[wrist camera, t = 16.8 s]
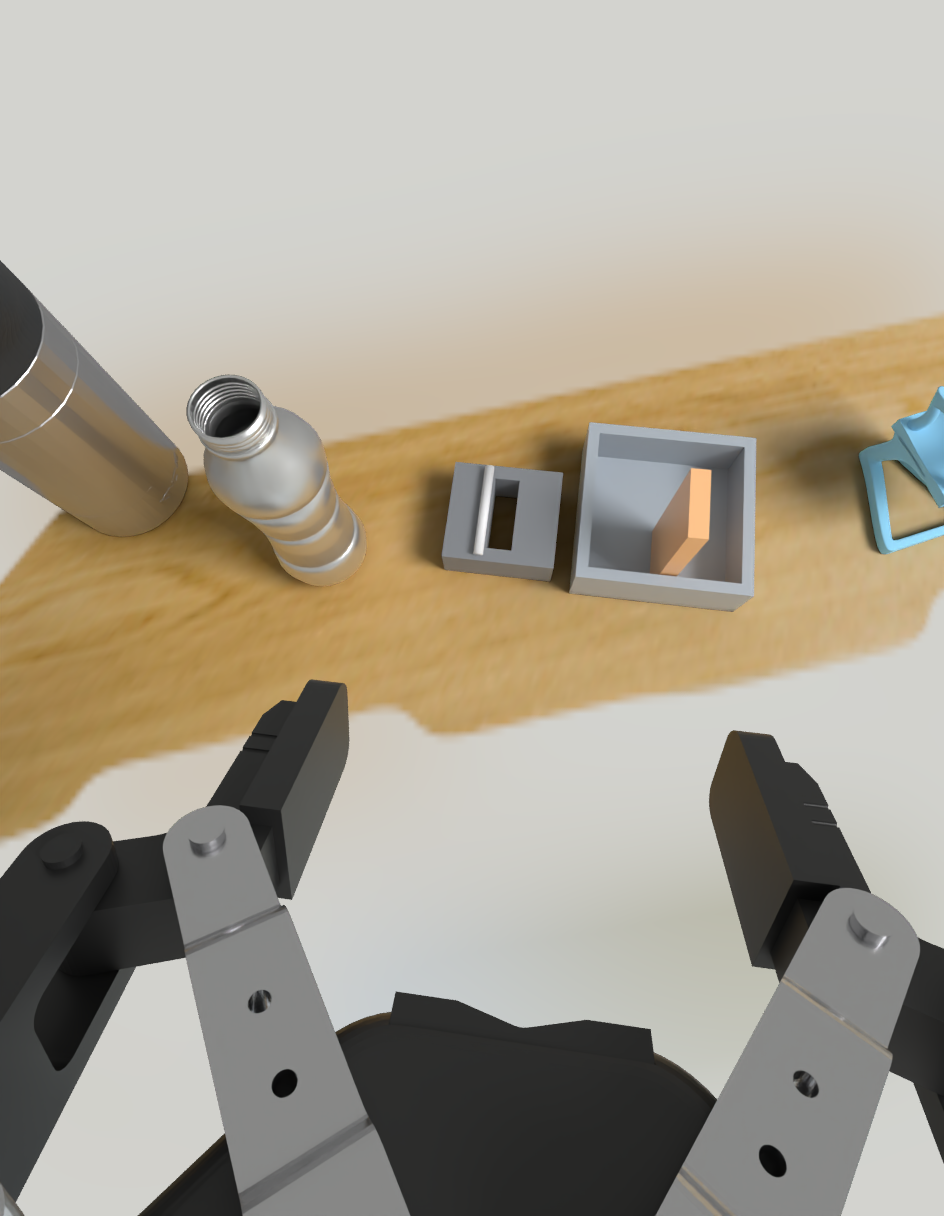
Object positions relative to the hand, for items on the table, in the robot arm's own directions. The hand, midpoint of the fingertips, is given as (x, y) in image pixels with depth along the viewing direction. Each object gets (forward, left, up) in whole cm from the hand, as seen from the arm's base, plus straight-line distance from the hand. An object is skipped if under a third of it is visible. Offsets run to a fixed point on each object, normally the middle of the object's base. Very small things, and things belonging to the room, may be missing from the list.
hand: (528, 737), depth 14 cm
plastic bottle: (-15, +14, -33) cm, 39 cm away
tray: (+9, +19, -32) cm, 39 cm away
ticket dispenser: (-2, +18, -32) cm, 37 cm away
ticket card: (+10, +17, -32) cm, 37 cm away
